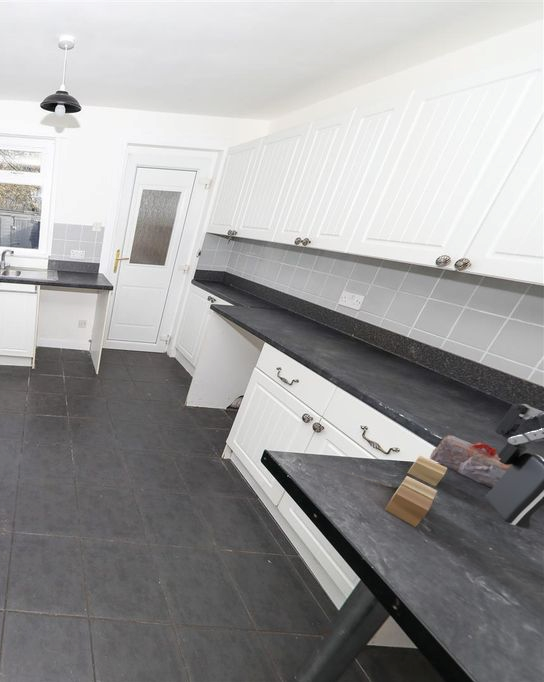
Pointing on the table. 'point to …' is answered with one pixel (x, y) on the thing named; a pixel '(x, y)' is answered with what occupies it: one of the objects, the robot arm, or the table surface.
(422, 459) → the block
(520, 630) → the table surface
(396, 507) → the block
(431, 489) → the block
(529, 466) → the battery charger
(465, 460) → the food item
